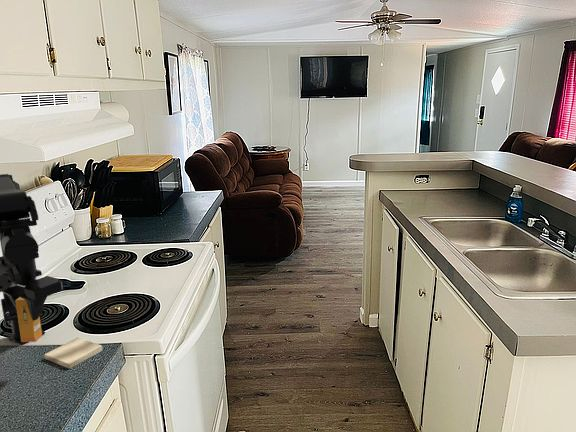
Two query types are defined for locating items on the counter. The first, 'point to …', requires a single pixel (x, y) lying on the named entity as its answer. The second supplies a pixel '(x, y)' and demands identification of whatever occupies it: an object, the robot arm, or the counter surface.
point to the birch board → (73, 352)
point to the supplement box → (27, 322)
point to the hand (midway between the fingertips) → (29, 317)
